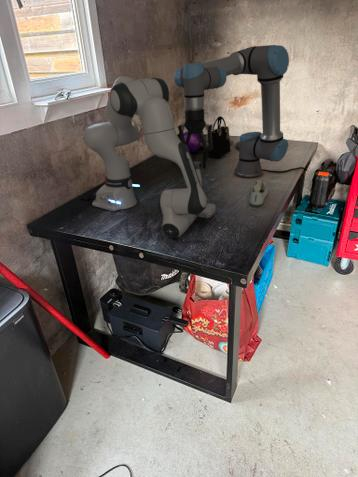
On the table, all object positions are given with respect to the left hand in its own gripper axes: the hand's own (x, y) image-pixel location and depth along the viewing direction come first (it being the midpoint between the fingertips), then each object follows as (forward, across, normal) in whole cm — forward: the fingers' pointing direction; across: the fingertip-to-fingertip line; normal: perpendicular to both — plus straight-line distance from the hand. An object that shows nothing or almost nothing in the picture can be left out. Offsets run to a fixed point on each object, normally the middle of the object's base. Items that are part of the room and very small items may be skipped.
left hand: (197, 200), depth 146 cm
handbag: (+90, +18, +6) cm, 92 cm away
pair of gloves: (+116, +34, +6) cm, 121 cm away
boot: (+67, +34, +6) cm, 75 cm away
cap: (-1, 0, -17) cm, 17 cm away
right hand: (-1, 0, -16) cm, 16 cm away
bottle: (-1, 0, +6) cm, 6 cm away
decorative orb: (+90, +39, +6) cm, 98 cm away
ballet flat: (+25, -22, +6) cm, 34 cm away
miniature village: (+117, -2, +6) cm, 117 cm away
